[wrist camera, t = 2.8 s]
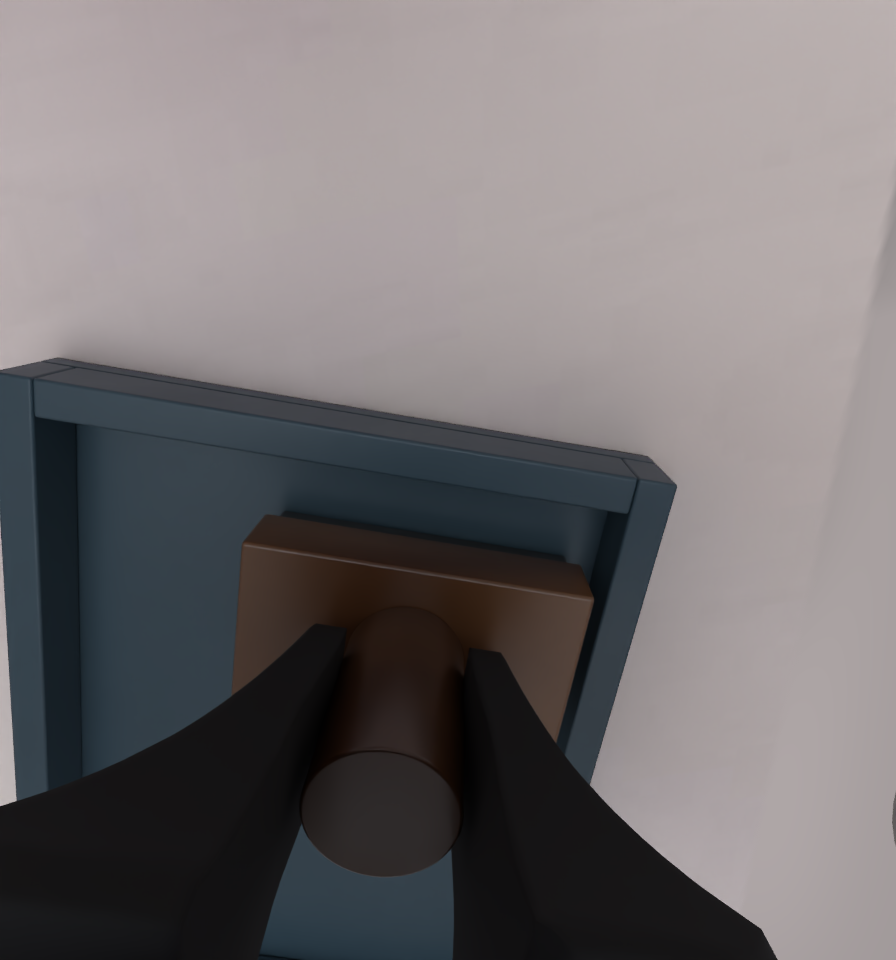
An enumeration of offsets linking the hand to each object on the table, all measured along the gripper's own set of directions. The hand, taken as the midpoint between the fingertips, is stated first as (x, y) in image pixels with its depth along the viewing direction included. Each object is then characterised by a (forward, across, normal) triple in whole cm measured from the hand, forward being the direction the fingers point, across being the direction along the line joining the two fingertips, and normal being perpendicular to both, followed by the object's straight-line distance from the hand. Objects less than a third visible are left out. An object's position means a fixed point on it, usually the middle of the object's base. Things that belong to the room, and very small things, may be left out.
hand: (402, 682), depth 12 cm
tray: (+4, +2, +4) cm, 6 cm away
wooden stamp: (+3, 0, 0) cm, 3 cm away
